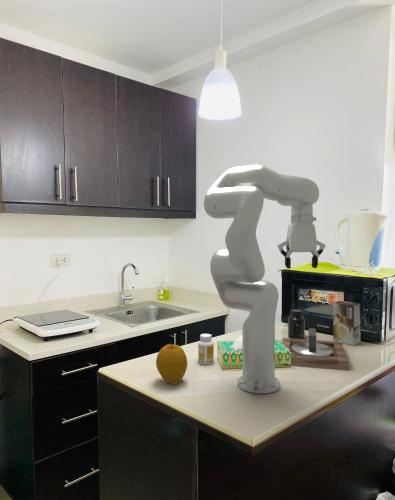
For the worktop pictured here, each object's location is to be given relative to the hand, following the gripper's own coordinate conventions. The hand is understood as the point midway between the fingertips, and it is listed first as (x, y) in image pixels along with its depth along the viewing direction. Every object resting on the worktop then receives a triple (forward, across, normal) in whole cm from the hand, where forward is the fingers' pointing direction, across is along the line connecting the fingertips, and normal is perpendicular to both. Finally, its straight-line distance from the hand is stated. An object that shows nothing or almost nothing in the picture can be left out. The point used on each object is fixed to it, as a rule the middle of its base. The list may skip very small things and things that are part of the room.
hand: (301, 268), depth 138 cm
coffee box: (+32, -24, -14) cm, 43 cm away
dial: (+31, -4, +1) cm, 31 cm away
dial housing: (+32, -4, +1) cm, 33 cm away
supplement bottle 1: (+32, +35, +3) cm, 48 cm away
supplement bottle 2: (+32, -6, -21) cm, 39 cm away
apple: (+32, +47, +19) cm, 60 cm away
